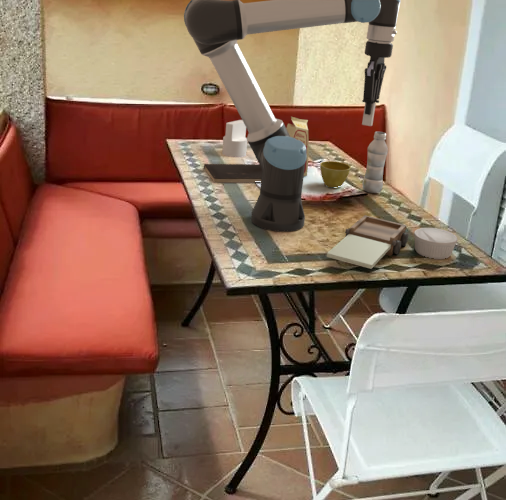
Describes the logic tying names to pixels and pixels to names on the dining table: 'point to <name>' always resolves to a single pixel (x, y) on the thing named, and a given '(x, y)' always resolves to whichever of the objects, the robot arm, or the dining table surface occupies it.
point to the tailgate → (359, 251)
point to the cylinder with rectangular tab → (235, 139)
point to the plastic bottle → (375, 163)
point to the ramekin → (434, 242)
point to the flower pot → (334, 173)
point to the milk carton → (299, 134)
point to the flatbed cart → (380, 232)
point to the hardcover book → (234, 172)
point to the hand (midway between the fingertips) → (367, 124)
